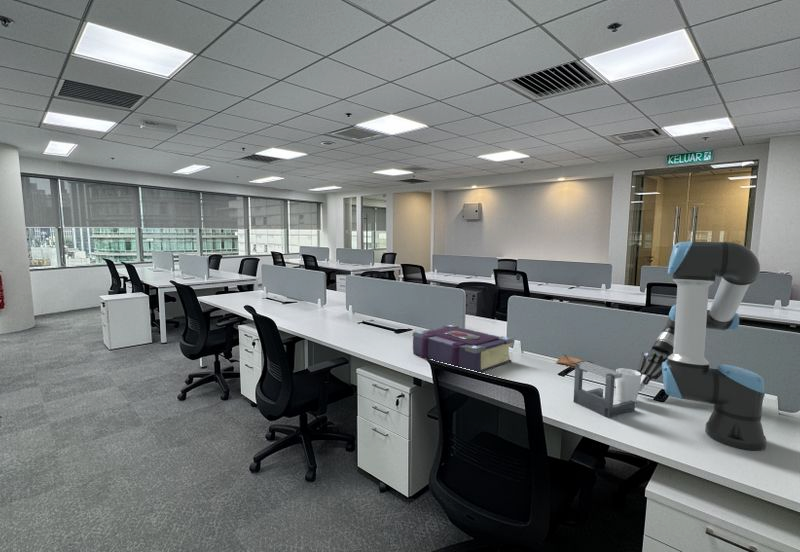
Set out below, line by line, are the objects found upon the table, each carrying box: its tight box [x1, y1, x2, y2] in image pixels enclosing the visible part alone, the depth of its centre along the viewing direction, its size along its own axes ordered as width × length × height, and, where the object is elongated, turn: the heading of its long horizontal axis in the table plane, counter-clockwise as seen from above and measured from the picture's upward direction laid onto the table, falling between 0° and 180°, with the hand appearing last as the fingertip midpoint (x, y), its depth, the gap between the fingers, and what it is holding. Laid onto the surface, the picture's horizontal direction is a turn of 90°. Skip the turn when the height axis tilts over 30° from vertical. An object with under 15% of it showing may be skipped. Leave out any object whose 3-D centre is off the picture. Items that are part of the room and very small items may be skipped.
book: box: [412, 324, 514, 373], centre depth 211 cm, size 33×45×14 cm
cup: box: [614, 367, 641, 404], centre depth 156 cm, size 9×9×12 cm
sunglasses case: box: [555, 354, 595, 373], centre depth 199 cm, size 18×7×7 cm
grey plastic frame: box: [572, 360, 636, 419], centre depth 150 cm, size 15×16×16 cm
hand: (637, 388), depth 159 cm, fingers closed
